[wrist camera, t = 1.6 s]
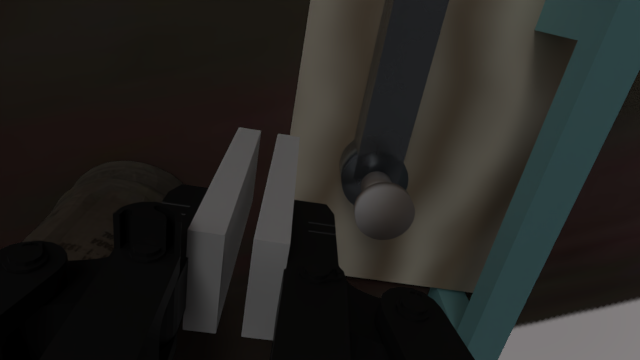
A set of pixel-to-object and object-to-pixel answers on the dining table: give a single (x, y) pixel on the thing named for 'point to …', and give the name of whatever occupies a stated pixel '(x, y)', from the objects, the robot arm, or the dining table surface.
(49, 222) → the beer stein
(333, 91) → the pivot plate
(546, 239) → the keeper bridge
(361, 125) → the swing link
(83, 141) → the dining table surface
